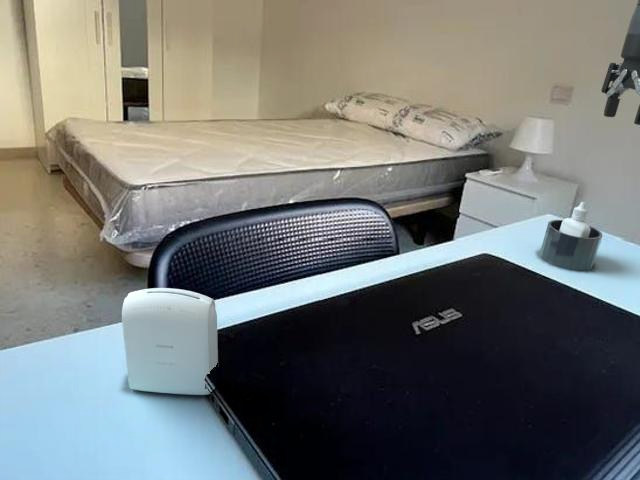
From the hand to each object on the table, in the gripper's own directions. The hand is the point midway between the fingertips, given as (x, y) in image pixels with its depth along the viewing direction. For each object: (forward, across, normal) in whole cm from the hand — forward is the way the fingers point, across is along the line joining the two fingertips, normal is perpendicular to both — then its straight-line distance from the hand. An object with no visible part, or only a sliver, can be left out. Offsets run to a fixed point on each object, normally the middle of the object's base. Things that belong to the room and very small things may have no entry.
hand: (623, 120), depth 100 cm
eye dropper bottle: (+26, -8, +11) cm, 30 cm away
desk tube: (+27, -8, +11) cm, 30 cm away
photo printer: (+26, -41, +84) cm, 97 cm away
